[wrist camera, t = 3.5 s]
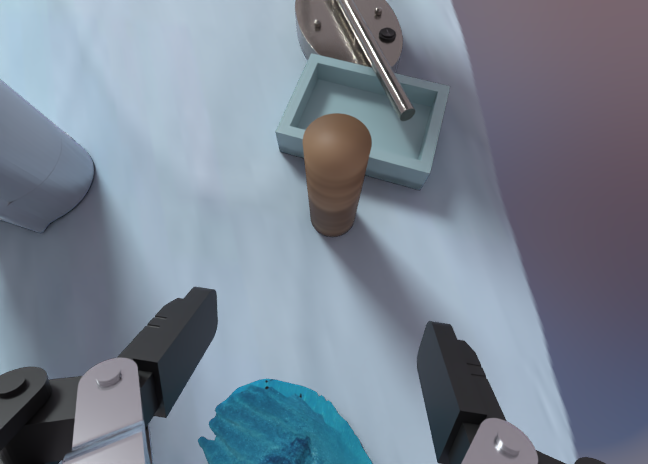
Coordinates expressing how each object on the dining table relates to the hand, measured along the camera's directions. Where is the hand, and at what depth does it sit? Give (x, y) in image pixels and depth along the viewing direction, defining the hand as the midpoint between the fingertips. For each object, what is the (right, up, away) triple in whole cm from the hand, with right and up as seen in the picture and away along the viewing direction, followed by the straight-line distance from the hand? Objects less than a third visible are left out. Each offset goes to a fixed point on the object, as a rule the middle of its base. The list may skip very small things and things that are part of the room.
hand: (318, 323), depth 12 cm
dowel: (+1, +5, +17) cm, 17 cm away
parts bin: (+4, +14, +20) cm, 25 cm away
